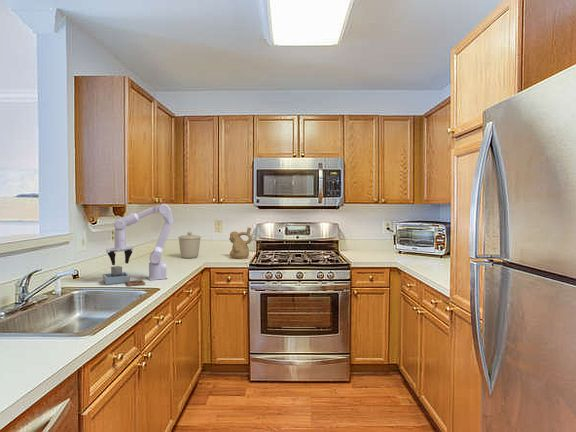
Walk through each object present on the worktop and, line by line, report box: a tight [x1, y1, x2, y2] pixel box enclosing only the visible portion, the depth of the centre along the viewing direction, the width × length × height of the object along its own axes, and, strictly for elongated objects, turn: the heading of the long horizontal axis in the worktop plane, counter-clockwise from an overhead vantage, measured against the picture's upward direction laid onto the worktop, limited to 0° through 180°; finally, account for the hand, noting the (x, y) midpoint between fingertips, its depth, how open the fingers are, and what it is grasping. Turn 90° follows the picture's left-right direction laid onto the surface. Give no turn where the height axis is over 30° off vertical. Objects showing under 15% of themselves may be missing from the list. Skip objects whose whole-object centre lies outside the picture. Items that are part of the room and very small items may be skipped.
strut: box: [110, 265, 123, 277], centre depth 211 cm, size 4×4×8 cm
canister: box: [177, 231, 202, 259], centre depth 305 cm, size 18×18×21 cm
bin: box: [102, 271, 131, 286], centre depth 211 cm, size 12×12×4 cm
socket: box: [125, 279, 146, 287], centre depth 206 cm, size 8×8×1 cm
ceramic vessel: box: [229, 227, 253, 260], centre depth 307 cm, size 17×20×25 cm
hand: (120, 264), depth 215 cm, fingers open, 7 cm apart
